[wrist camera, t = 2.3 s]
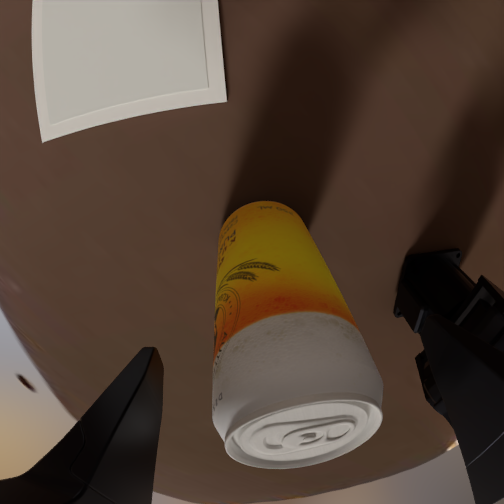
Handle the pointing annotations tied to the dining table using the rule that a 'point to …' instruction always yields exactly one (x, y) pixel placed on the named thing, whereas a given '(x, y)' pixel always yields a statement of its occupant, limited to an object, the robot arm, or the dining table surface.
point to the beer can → (286, 348)
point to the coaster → (122, 60)
